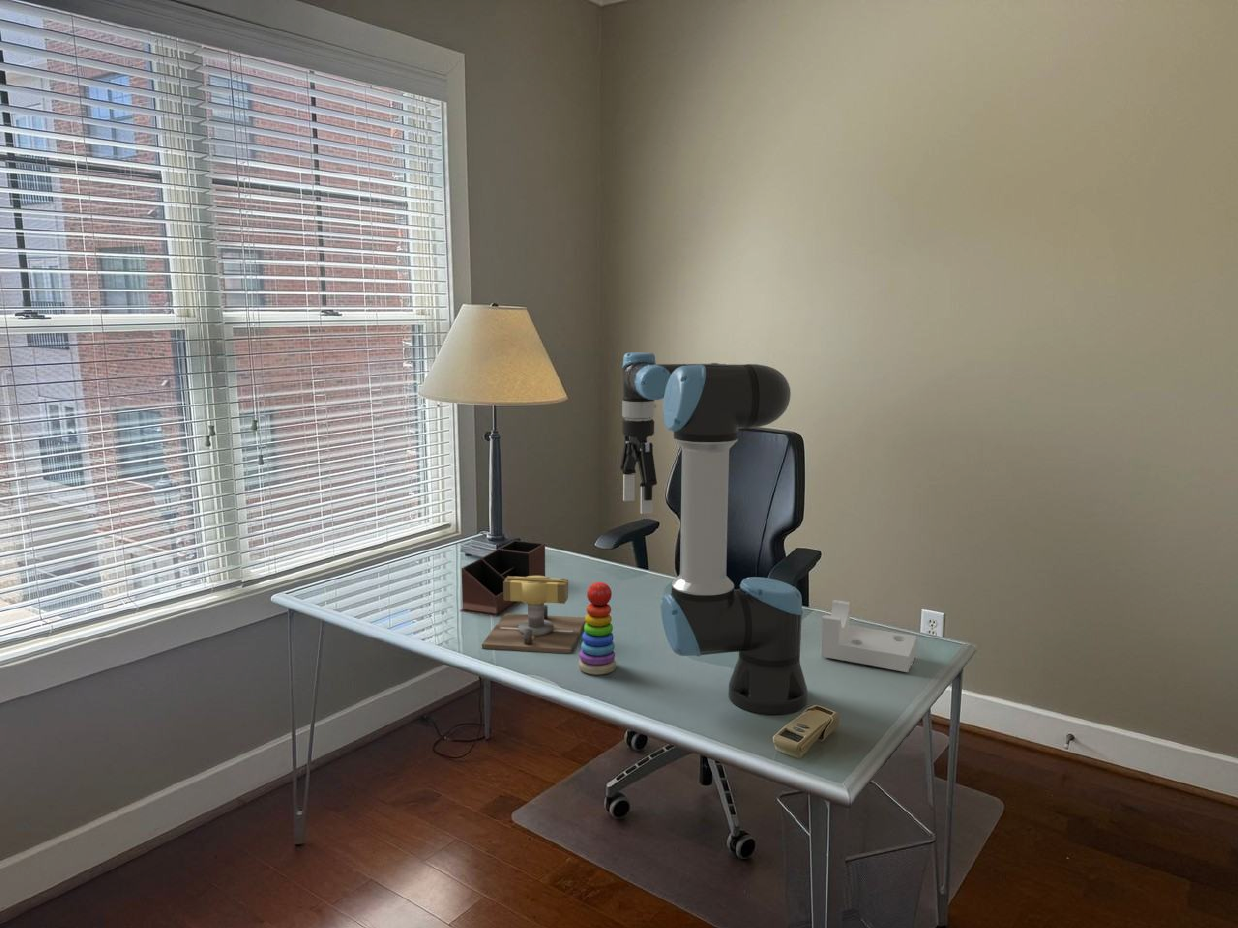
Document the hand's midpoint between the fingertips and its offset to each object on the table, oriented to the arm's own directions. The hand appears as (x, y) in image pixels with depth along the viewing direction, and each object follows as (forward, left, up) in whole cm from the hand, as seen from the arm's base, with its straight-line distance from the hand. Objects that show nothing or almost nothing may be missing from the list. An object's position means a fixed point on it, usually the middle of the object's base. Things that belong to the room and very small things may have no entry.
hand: (637, 506), depth 213 cm
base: (-16, +21, -27) cm, 38 cm away
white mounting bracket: (-19, -53, -28) cm, 63 cm away
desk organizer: (+10, +35, -28) cm, 46 cm away
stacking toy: (-33, +4, -28) cm, 43 cm away
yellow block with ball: (-16, +21, -19) cm, 33 cm away
